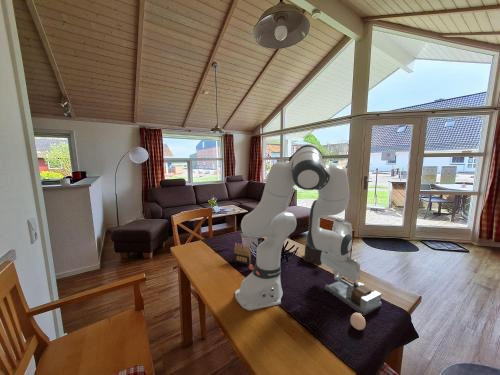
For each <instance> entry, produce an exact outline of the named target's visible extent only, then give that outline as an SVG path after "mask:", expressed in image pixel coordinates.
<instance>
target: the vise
mask: <svg viewBox="0 0 500 375" xmlns="http://www.w3.org/2000/svg"><path fill="white" fill-rule="evenodd" d="M351 285H353V284H351V283H350V282H348V281H346V280H345V279H343V278H342V281H340V282H339V281H338V280H337V281H335V282H333V283H331V284H325V286H324V290H325V289H326V290H325V291H327V292H328V291H329V292H330V293H329V292H328V293H329V294H331V293H332V294H333V295H332V294H331V295H332V296H334V295H335V296H336V297H338V298H339V299H341V300H342V301H344V302H345V303H346V304H348V305H349V306H350V307H349V306H348V305H347V306H348V307H349V308H351V307H352V308H353V309H355V310H356V311H358V312H359V313H360V314H362V315H363V316H364V315H366V314H368V313H369V312H371V311H373V310H374V309H376V308H377V307H379V306H381V307H382V301H381V299H382V293H381V292H379V291H377V290H374V291H371V293H369V294H367V295H365V296H363V297H361V302H360V304H359V303H358V302H356V301H355V300H352V301H351V300H349V299H348V298H346V290H347V287H349V286H351ZM335 296H334V297H335ZM336 297H335V298H336ZM338 298H337V299H338ZM339 299H338V300H339ZM341 300H340V301H341ZM342 301H341V302H342ZM344 302H343V303H344ZM345 303H344V304H345ZM346 304H345V305H346ZM352 308H351V309H352ZM353 309H352V310H353ZM355 310H354V311H355ZM356 311H355V312H356ZM358 312H357V313H358ZM373 312H374V311H373ZM371 313H372V312H371ZM369 314H370V313H369ZM369 314H368V315H369ZM366 316H367V315H366ZM364 317H365V316H364Z"/></svg>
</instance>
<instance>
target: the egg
mask: <svg viewBox="0 0 500 375" xmlns="http://www.w3.org/2000/svg"><path fill="white" fill-rule="evenodd" d="M350 324H351V326H352V327H353V328H354V329H356V330H358V331H362V330H364V329H365V328H366V324H367V323H366V319H365V316H364V317H363V316H362V314H360V313H358V312H354V313H352V315H350Z"/></svg>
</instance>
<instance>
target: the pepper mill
mask: <svg viewBox="0 0 500 375" xmlns="http://www.w3.org/2000/svg"><path fill="white" fill-rule="evenodd" d="M304 246H305V247H304V260H303V261H304V262H305V263H306V262H307V263H310V262H311V264H317V265H322V264H323V263H322V262H321V252H322V251H321V250H316V249H311V248H310V246H309V245H308V243H307V242H306V243H305V245H304Z"/></svg>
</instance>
